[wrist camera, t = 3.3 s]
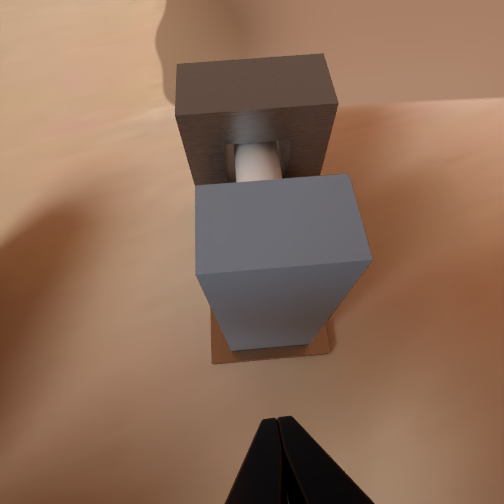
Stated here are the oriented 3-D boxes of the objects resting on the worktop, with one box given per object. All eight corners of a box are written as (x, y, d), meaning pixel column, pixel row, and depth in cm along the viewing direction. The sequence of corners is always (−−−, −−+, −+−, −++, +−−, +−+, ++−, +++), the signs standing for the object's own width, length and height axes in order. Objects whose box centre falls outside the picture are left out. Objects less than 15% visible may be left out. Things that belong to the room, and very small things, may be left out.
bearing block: (329, 353, 16) (397, 298, 8) (212, 364, 16) (167, 318, 8) (297, 184, 21) (321, 46, 13) (208, 191, 21) (176, 56, 13)
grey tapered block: (309, 343, 16) (373, 259, 7) (230, 351, 16) (195, 274, 7) (286, 199, 20) (308, 30, 11) (223, 204, 20) (194, 38, 11)
